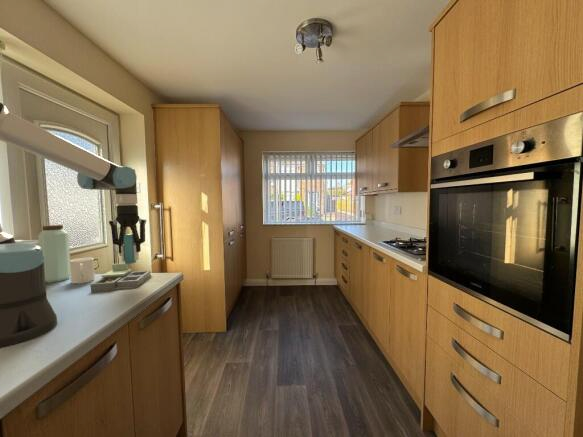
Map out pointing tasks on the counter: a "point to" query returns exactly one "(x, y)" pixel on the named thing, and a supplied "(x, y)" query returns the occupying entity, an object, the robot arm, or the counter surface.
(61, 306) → the counter surface
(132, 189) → the robot arm
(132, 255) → the pin
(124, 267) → the cover
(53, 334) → the counter surface
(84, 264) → the mug
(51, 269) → the water bottle
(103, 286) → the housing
